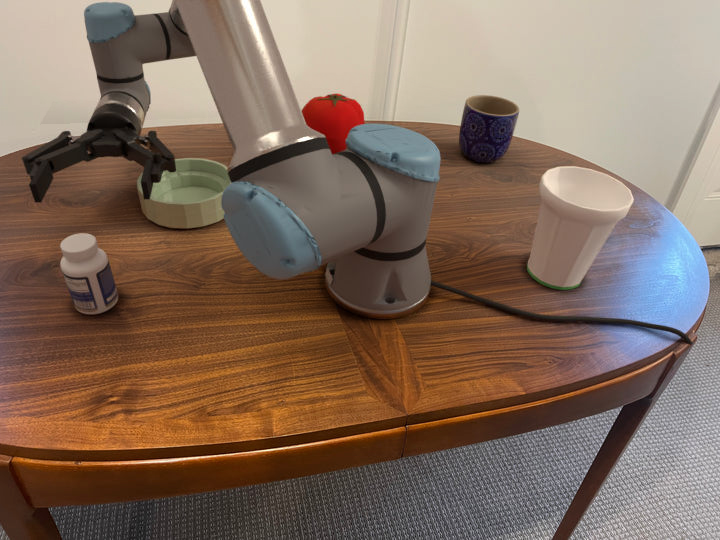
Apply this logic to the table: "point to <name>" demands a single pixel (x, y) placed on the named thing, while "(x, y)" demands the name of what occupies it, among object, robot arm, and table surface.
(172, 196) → the bowl
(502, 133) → the planter
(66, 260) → the pill bottle
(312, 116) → the tomato
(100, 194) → the table surface
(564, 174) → the cup
